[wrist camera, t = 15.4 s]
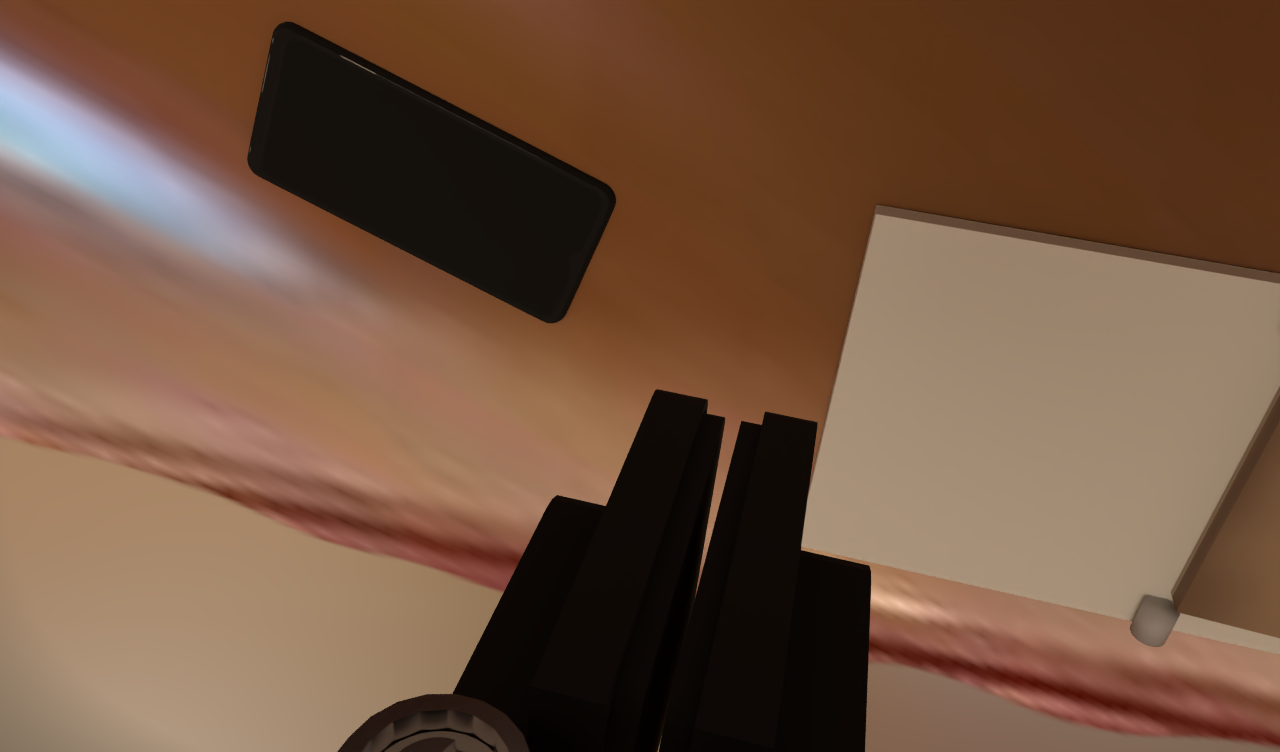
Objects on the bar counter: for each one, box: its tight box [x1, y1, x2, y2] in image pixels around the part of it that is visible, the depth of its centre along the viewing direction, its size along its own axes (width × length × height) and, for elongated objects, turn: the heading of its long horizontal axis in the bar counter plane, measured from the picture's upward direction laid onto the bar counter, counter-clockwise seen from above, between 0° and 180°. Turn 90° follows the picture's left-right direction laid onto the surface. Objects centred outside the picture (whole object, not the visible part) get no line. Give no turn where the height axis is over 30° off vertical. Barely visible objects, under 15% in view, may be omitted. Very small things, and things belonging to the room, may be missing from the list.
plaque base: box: [801, 205, 1280, 655], centre depth 37 cm, size 30×16×2 cm, turn 84°
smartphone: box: [247, 22, 616, 323], centre depth 39 cm, size 7×1×15 cm
